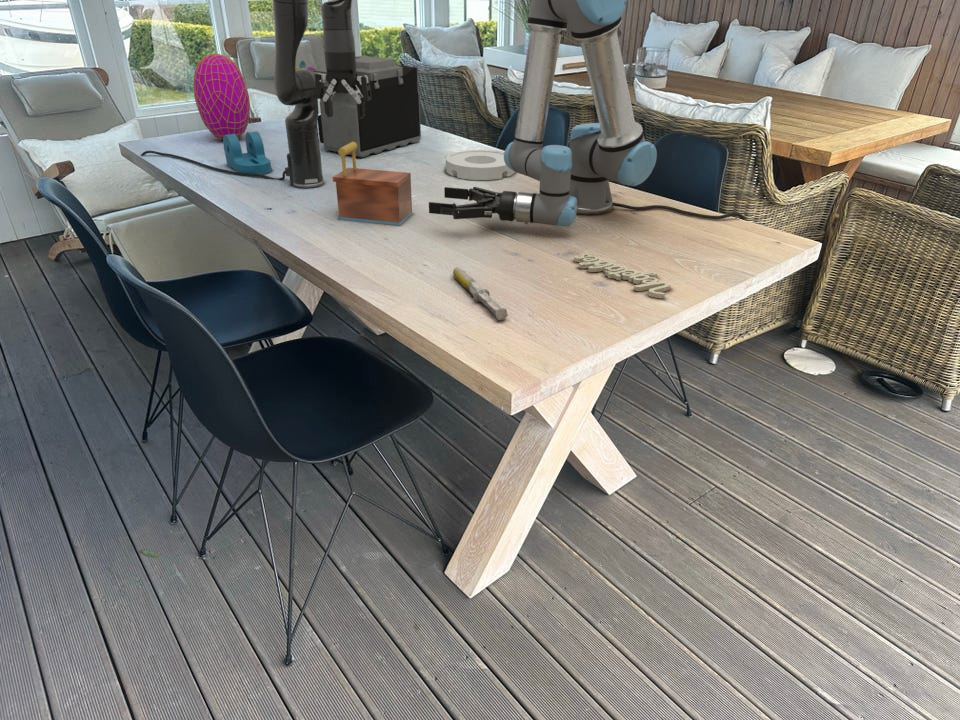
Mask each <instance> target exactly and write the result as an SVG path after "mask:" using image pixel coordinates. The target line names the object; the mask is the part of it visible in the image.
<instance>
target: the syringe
mask: <svg viewBox="0 0 960 720" xmlns="http://www.w3.org/2000/svg"><path fill="white" fill-rule="evenodd" d="M452 274H453V277H454V279H455V280H457V281H458V282H459V283H460V285H462V287H464V289H466V290H467V291H468V293H470V295H471V296H472V298H473V300H474V302H477V303H478V302H480V303H482V304H483V305H484V306H485V307H486V308H487V309H488V310H489V311H490V312H491V313H492V314H493V315H494V316H495V317H496V320H497V321H503V320H504V319H506V318H507V317H509V314H508V310H507V308H506V307H502V306H501V305H500V303H498V302H497V301H496V300H494V299H493V298H492V297H491V296H490V295H491V293H490V290H488V289H486V288H483V287H482V286H481V285H480V284H479V283H478V282H477V281H476V280H474V278H473V277H471V275H469V274H468V273H467V272H466V270H465V269H464V268H463V267H462V266H456V267H454V268H453V271H452Z"/></svg>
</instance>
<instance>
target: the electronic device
mask: <svg viewBox="0 0 960 720" xmlns="http://www.w3.org/2000/svg"><path fill="white" fill-rule="evenodd" d="M355 56H356V73H357V75H358V76H365V75H368V76H369V81H370V89H371V97H372V98H371V100H369V101H367V102H365V116H364V117H363V118H362V119H358V114H357V104H358V103H357V101H356V100H355V99H354V97H352V96H351V95H350V93H347V94H346V93H342V92H341V93H336V92H335V94H334V95H333V96H332V98H331V101H332V106H333V116H332V117H327V115H326V114H325V107H324V101H323V100H321V99H319V110H320V111H319V112H320V114H319V115H318V120H317V127H318V137H319V144H323V146H324V149H325V150H327V151H330V152H335V153H338V150H339V149H340V148H342V147H344V146H345V145H347V144H349V143H351V142H355V143H356V144H357V149H356V150H355V156H356V158H362V159H363V158H366V157H367V158H368V157H369V155H371V154H375V155H377V154H381V153H382V152H383V151H391V150H395V149H396V148H397V147H405V146H407V145H408V144H416V143H418V142H419V141H421V137H422V128H421V97H420V92H419V91H420V89H419V68H418V67H417V66H408V65H400V64H396V62H395V60H394V59H393V58H385V57H377V56H367V55H355ZM311 73H312V75H313V76H314V79H315V75H316V74H318V73H323V74H326V73H327V71H320V70H316V71H313V72H311ZM356 86H357V87H358V88H359V90H360V92H361V94H362V95H363V92H362V85H360V82H359V81H358V82H357V84H356ZM328 87H329V83H328V82H327V80H325V82H324V94H325V93H326V90H327V89H328ZM347 155H348V156H352V152H351V153H349V154H347Z"/></svg>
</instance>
